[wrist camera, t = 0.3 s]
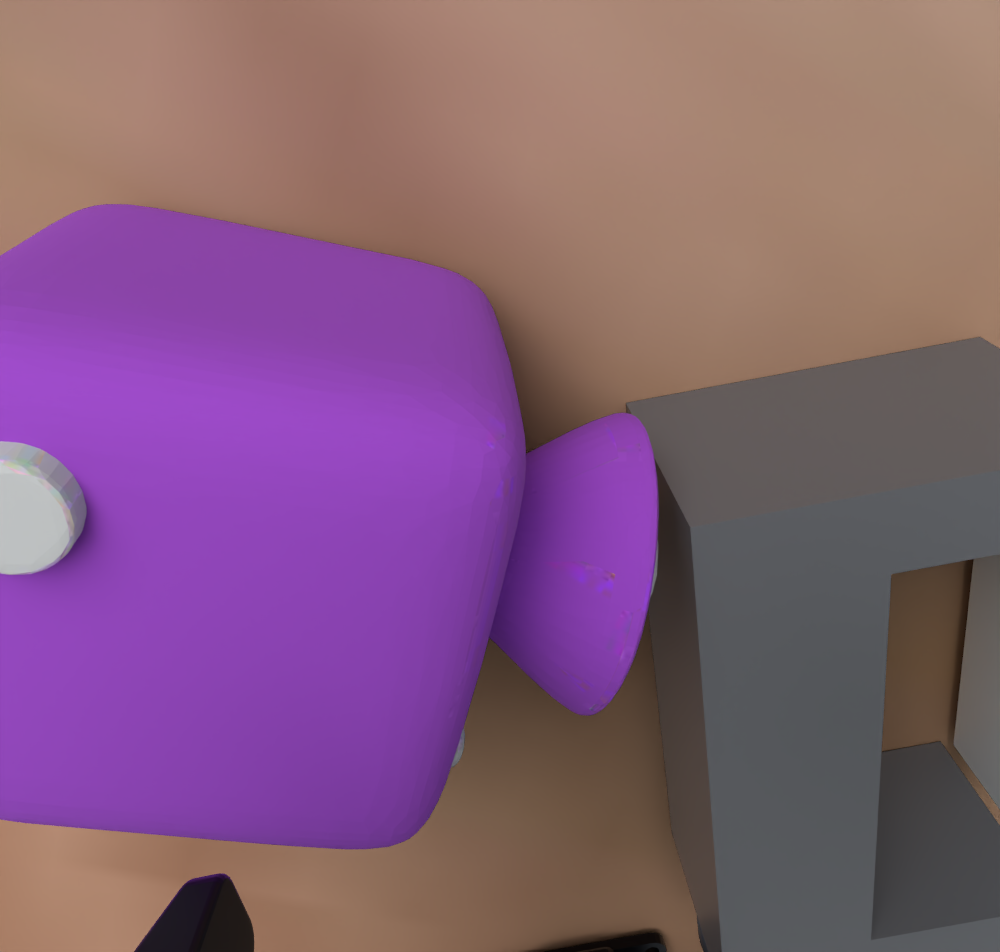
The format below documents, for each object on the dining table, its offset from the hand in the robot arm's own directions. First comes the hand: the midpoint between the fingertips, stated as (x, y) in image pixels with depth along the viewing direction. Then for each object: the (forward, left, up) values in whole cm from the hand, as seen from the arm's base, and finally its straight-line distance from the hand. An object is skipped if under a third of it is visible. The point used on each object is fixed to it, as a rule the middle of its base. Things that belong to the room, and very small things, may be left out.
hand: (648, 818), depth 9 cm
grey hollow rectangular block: (-10, -7, -14) cm, 18 cm away
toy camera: (-1, +4, -14) cm, 15 cm away
